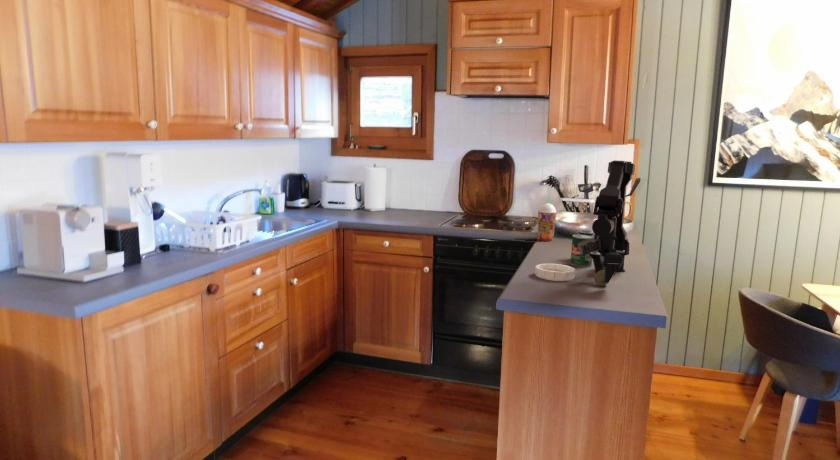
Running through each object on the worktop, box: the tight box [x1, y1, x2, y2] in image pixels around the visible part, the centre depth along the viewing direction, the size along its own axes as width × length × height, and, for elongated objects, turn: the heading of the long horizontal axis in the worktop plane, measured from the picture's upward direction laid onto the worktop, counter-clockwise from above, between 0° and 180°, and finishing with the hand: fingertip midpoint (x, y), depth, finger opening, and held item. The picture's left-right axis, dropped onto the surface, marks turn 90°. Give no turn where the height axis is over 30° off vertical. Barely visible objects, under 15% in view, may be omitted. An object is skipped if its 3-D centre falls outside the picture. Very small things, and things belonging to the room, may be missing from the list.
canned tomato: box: [570, 233, 594, 268], centre depth 218 cm, size 8×8×11 cm
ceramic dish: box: [534, 263, 576, 282], centre depth 199 cm, size 13×13×3 cm
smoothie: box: [537, 197, 558, 242], centre depth 267 cm, size 8×8×20 cm
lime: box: [594, 269, 609, 286], centre depth 189 cm, size 4×5×5 cm
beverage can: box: [577, 227, 594, 237], centre depth 228 cm, size 6×6×12 cm
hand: (602, 279), depth 189 cm, fingers open, 9 cm apart
